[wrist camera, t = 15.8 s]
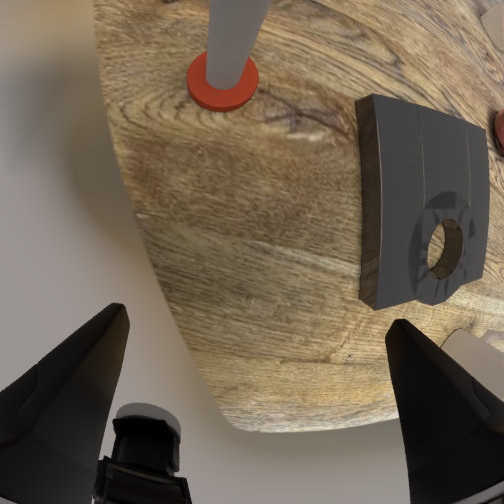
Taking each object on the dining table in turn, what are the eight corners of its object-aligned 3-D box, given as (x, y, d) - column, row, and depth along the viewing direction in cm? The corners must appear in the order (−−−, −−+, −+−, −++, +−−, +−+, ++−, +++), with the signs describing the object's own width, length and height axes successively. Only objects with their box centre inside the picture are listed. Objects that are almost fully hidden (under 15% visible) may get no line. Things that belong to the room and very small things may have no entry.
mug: (435, 379, 27) (488, 427, 16) (431, 352, 25) (496, 405, 14) (479, 331, 28) (534, 366, 16) (478, 300, 26) (543, 334, 14)
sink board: (357, 311, 22) (373, 324, 19) (354, 100, 17) (372, 92, 15) (465, 281, 24) (480, 287, 22) (469, 130, 20) (485, 129, 17)
